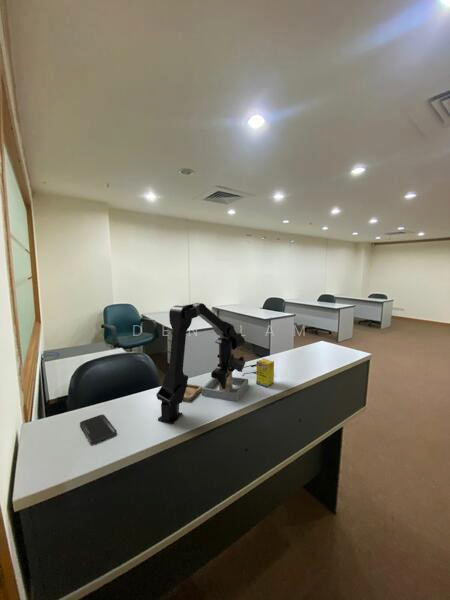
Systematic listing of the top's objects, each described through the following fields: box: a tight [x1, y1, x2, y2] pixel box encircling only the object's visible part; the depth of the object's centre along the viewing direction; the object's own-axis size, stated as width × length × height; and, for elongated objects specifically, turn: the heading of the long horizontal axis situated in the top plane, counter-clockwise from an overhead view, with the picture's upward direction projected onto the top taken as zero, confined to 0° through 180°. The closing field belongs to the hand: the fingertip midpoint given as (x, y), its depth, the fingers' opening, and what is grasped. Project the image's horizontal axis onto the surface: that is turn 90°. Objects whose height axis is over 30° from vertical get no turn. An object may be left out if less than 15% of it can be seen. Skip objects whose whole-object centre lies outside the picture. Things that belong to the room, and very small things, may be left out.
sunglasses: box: [241, 363, 256, 377], centre depth 128 cm, size 10×12×5 cm
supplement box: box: [255, 358, 275, 389], centre depth 115 cm, size 6×6×11 cm
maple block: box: [218, 371, 233, 392], centre depth 109 cm, size 4×4×8 cm
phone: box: [79, 414, 117, 446], centre depth 82 cm, size 8×1×15 cm
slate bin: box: [201, 376, 249, 402], centre depth 109 cm, size 16×16×3 cm
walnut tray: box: [183, 383, 203, 403], centre depth 107 cm, size 12×12×2 cm
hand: (225, 386), depth 109 cm, fingers closed on maple block, 4 cm apart
